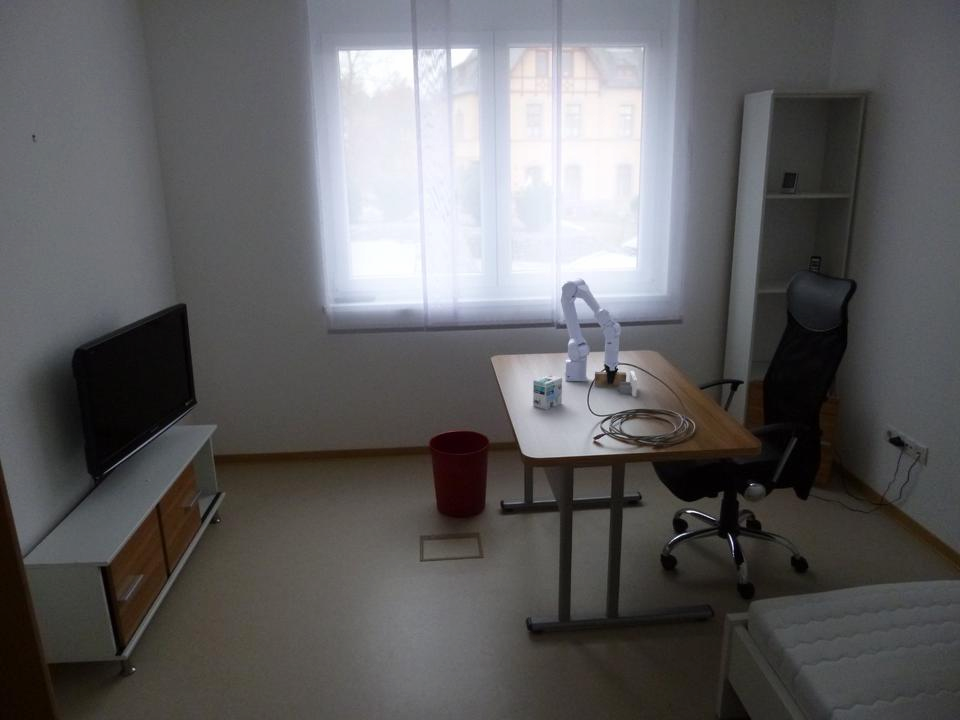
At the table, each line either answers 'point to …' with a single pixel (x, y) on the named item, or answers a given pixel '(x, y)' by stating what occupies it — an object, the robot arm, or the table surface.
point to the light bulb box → (547, 392)
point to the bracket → (629, 385)
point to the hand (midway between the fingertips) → (610, 382)
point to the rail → (602, 380)
